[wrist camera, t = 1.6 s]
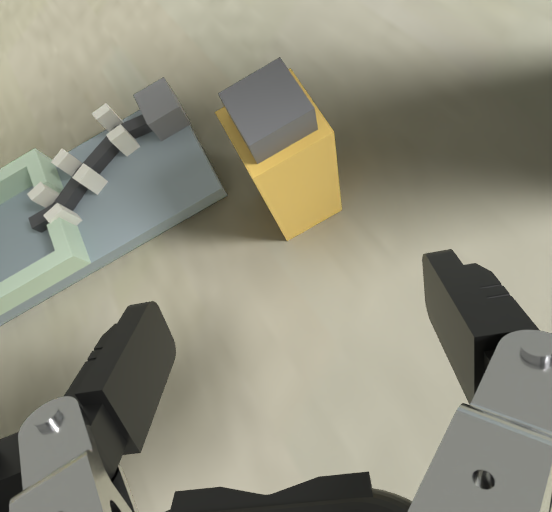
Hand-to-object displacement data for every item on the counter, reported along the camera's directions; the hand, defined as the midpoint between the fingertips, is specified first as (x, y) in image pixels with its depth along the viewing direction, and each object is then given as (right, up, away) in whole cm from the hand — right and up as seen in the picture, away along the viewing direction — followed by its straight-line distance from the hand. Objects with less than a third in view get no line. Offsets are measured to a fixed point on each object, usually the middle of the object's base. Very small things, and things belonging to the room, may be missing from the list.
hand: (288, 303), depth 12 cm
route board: (-14, +5, +17) cm, 23 cm away
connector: (+1, +5, +14) cm, 15 cm away
